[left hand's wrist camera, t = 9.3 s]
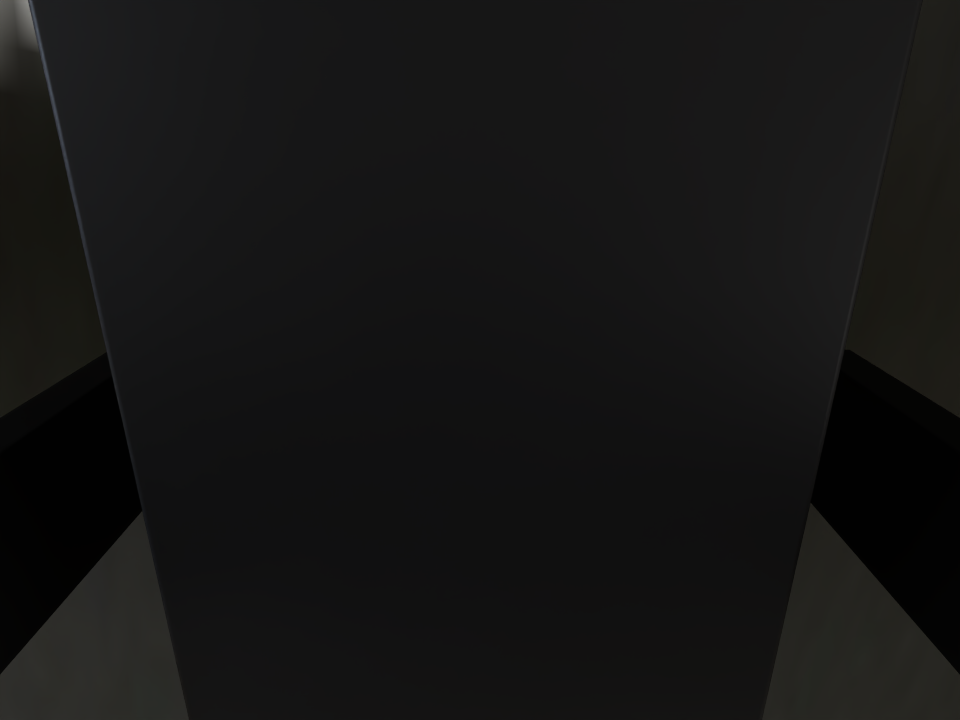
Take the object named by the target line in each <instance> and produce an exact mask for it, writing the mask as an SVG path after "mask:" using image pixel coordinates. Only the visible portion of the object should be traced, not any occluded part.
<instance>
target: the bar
mask: <svg viewBox="0 0 960 720" xmlns="http://www.w3.org/2000/svg"><path fill="white" fill-rule="evenodd" d="M922 1H923V0H28V2H29V7H30V11H31V15H32V20H33V24H34V29H35V33H36V38H37V42H38V47H39V51H40V56H41V60H42V65H43V69H44V74H45V78H46V82H47V87H48V91H49V96H50V100H51V105H52V109H53V114H54V118H55V123H56V127H57V132H58V136H59V141H60V145H61V149H62V154H63V158H64V163H65V167H66V172H67V176H68V181H69V185H70V190H71V194H72V199H73V203H74V208H75V212H76V216H77V221H78V225H79V230H80V234H81V239H82V243H83V248H84V252H85V257H86V261H87V266H88V270H89V275H90V279H91V283H92V288H93V292H94V297H95V301H96V306H97V310H98V315H99V319H100V324H101V328H102V333H103V337H104V342H105V346H106V350H107V355H108V359H109V364H110V368H111V373H112V377H113V382H114V386H115V391H116V395H117V400H118V404H119V409H120V413H121V417H122V422H123V426H124V431H125V435H126V440H127V444H128V449H129V453H130V458H131V462H132V467H133V471H134V476H135V480H136V484H137V489H138V493H139V498H140V502H141V507H142V511H143V516H144V520H145V525H146V529H147V534H148V538H149V543H150V547H151V551H152V556H153V560H154V565H155V569H156V574H157V578H158V583H159V587H160V592H161V596H162V601H163V605H164V610H165V614H166V618H167V623H168V627H169V632H170V636H171V641H172V645H173V650H174V654H175V659H176V663H177V668H178V672H179V677H180V681H181V685H182V690H183V694H184V699H185V703H186V708H187V712H188V717H189V720H762V717H763V713H764V708H765V704H766V699H767V695H768V690H769V686H770V681H771V677H772V672H773V668H774V663H775V659H776V654H777V650H778V646H779V641H780V637H781V632H782V628H783V623H784V619H785V614H786V610H787V605H788V601H789V596H790V592H791V587H792V583H793V578H794V574H795V569H796V565H797V560H798V556H799V551H800V547H801V543H802V538H803V534H804V529H805V525H806V520H807V516H808V511H809V507H810V502H811V498H812V493H813V489H814V484H815V480H816V475H817V471H818V466H819V462H820V457H821V453H822V449H823V444H824V440H825V435H826V431H827V426H828V422H829V417H830V413H831V408H832V404H833V399H834V395H835V390H836V386H837V381H838V377H839V372H840V368H841V363H842V359H843V355H844V350H845V346H846V341H847V337H848V332H849V328H850V323H851V319H852V314H853V310H854V305H855V301H856V296H857V292H858V287H859V283H860V278H861V274H862V269H863V265H864V260H865V256H866V252H867V247H868V243H869V238H870V234H871V229H872V225H873V220H874V216H875V211H876V207H877V202H878V198H879V193H880V189H881V184H882V180H883V175H884V171H885V166H886V162H887V158H888V153H889V149H890V144H891V140H892V135H893V131H894V126H895V122H896V117H897V113H898V108H899V104H900V99H901V95H902V90H903V86H904V81H905V77H906V72H907V68H908V63H909V59H910V55H911V50H912V46H913V41H914V37H915V32H916V28H917V23H918V19H919V14H920V10H921V5H922Z"/></svg>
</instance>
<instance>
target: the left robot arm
mask: <svg viewBox="0 0 960 720" xmlns="http://www.w3.org/2000/svg"><path fill="white" fill-rule="evenodd" d="M811 503H812V505H813V506H814V507H815V508H816V509H817V510H818V511H819V513H820V514H821V515H822V516H823V517H824V518H825V520H826V521H827V522H828V523H829V524H830V525H831V526H832V528H833V529H834V530H835V531H836V532H837V533H838V535H839V536H840V537H841V538H842V539H843V540H844V541H845V543H846V544H847V545H848V546H849V547H850V548H851V550H852V551H853V552H854V553H855V554H856V555H857V556H858V558H859V559H860V560H861V561H862V562H863V563H864V564H865V566H866V567H867V568H868V569H869V570H870V571H871V573H872V574H873V575H874V576H875V577H876V578H877V579H878V581H879V582H880V583H881V584H882V585H883V586H884V588H885V589H886V590H887V591H888V592H889V593H890V594H891V596H892V597H893V598H894V599H895V600H896V601H897V602H898V604H899V605H900V606H901V607H902V608H903V609H904V611H905V612H906V613H907V614H908V615H909V616H910V617H911V619H912V620H913V621H914V622H915V623H916V624H917V626H918V627H919V628H920V629H921V630H922V631H923V632H924V634H925V635H926V636H927V637H928V638H929V639H930V641H931V642H932V643H933V644H934V645H935V646H936V647H937V649H938V650H939V651H940V652H941V653H942V654H943V655H944V657H945V658H946V659H947V660H948V661H949V662H950V664H951V665H952V666H953V667H954V668H955V669H956V670H957V672H958V673H959V674H960V418H959V417H957V416H956V415H954V414H952V413H951V412H949V411H948V410H946V409H944V408H943V407H941V406H939V405H938V404H936V403H935V402H933V401H931V400H930V399H928V398H926V397H925V396H923V395H922V394H920V393H918V392H917V391H915V390H914V389H912V388H910V387H909V386H907V385H905V384H904V383H902V382H901V381H899V380H897V379H896V378H894V377H893V376H891V375H889V374H888V373H886V372H884V371H883V370H881V369H880V368H878V367H876V366H875V365H873V364H871V363H870V362H868V361H867V360H865V359H863V358H862V357H860V356H859V355H857V354H855V353H854V352H852V351H850V350H844V355H843V359H842V363H841V368H840V372H839V377H838V381H837V386H836V390H835V395H834V399H833V404H832V408H831V413H830V417H829V422H828V426H827V431H826V435H825V440H824V444H823V449H822V453H821V457H820V462H819V466H818V471H817V475H816V480H815V484H814V489H813V493H812V498H811ZM141 511H142V507H141V502H140V498H139V493H138V489H137V484H136V480H135V476H134V471H133V467H132V462H131V458H130V453H129V449H128V444H127V440H126V435H125V431H124V426H123V422H122V417H121V413H120V409H119V404H118V400H117V395H116V391H115V386H114V382H113V377H112V373H111V368H110V364H109V359H108V355H107V352H106V353H105V354H103V355H101V356H100V357H98V358H97V359H95V360H93V361H92V362H90V363H89V364H87V365H85V366H84V367H82V368H80V369H79V370H77V371H76V372H74V373H72V374H71V375H69V376H67V377H66V378H64V379H63V380H61V381H59V382H58V383H56V384H55V385H53V386H51V387H50V388H48V389H46V390H45V391H43V392H42V393H40V394H38V395H37V396H35V397H33V398H32V399H30V400H29V401H27V402H25V403H24V404H22V405H21V406H19V407H17V408H16V409H14V410H12V411H11V412H9V413H8V414H6V415H4V416H3V417H1V418H0V674H1V673H2V672H3V670H4V669H5V668H6V667H7V666H8V665H9V664H10V662H11V661H12V660H13V659H14V658H15V657H16V655H17V654H18V653H19V652H20V651H21V650H22V649H23V647H24V646H25V645H26V644H27V643H28V642H29V640H30V639H31V638H32V637H33V636H34V635H35V634H36V632H37V631H38V630H39V629H40V628H41V627H42V626H43V624H44V623H45V622H46V621H47V620H48V619H49V617H50V616H51V615H52V614H53V613H54V612H55V611H56V609H57V608H58V607H59V606H60V605H61V604H62V602H63V601H64V600H65V599H66V598H67V597H68V596H69V594H70V593H71V592H72V591H73V590H74V589H75V587H76V586H77V585H78V584H79V583H80V582H81V581H82V579H83V578H84V577H85V576H86V575H87V574H88V573H89V571H90V570H91V569H92V568H93V567H94V566H95V564H96V563H97V562H98V561H99V560H100V559H101V558H102V556H103V555H104V554H105V553H106V552H107V551H108V549H109V548H110V547H111V546H112V545H113V544H114V543H115V541H116V540H117V539H118V538H119V537H120V536H121V535H122V533H123V532H124V531H125V530H126V529H127V528H128V526H129V525H130V524H131V523H132V522H133V521H134V520H135V518H136V517H137V516H138V515H139V514H140V513H141Z"/></svg>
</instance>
